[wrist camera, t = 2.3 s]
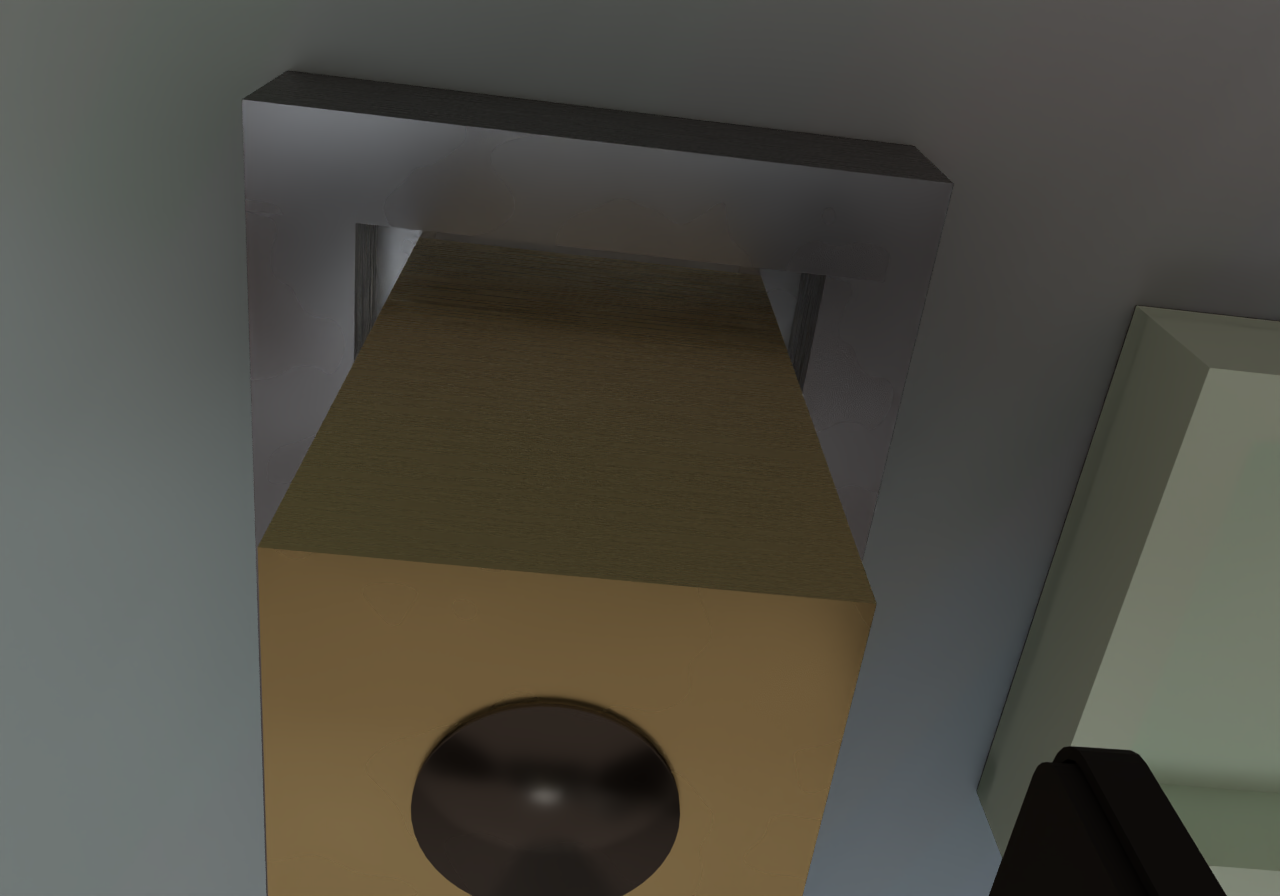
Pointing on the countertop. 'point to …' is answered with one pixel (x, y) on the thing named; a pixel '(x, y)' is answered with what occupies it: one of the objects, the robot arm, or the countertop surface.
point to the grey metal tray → (575, 241)
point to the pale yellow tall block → (558, 595)
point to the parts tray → (1168, 595)
